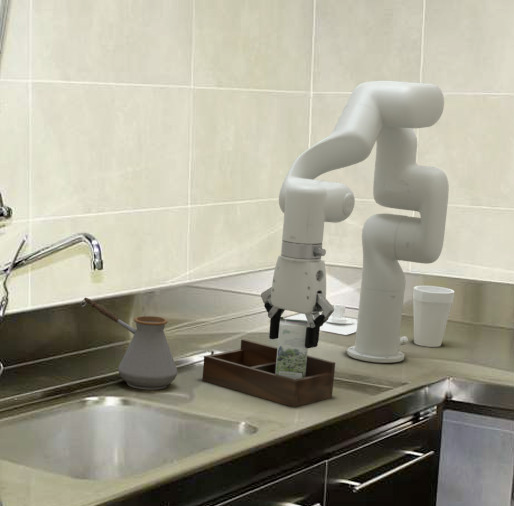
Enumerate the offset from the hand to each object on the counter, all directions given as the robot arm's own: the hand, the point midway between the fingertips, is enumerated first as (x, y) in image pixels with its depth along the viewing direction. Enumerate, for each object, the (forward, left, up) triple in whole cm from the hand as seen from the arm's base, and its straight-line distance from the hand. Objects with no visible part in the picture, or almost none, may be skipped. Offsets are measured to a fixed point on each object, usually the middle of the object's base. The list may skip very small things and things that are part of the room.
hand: (293, 342), depth 232 cm
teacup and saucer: (-64, -38, -11) cm, 75 cm away
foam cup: (-66, -10, -11) cm, 68 cm away
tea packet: (0, 0, -11) cm, 11 cm away
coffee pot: (+19, -25, -11) cm, 34 cm away
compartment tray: (0, -5, -10) cm, 12 cm away
